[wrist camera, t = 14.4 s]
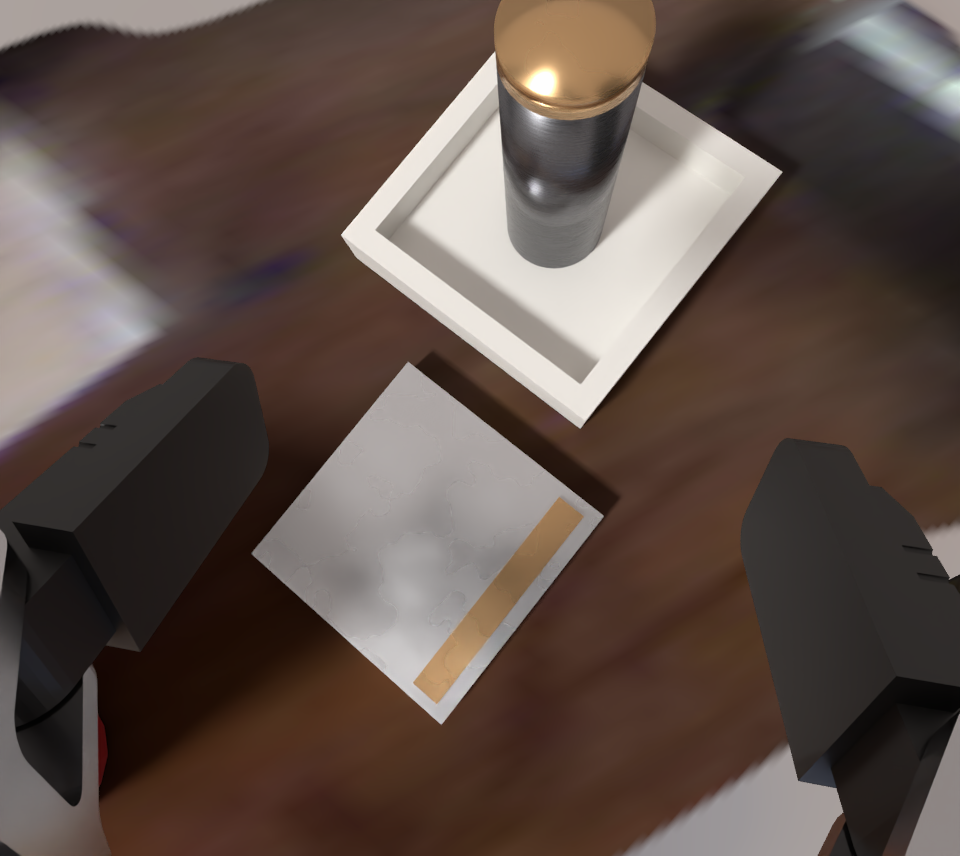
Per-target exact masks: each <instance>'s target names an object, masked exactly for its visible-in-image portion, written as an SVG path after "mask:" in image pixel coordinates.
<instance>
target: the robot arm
mask: <svg viewBox="0 0 960 856" xmlns="http://www.w3.org/2000/svg"><path fill="white" fill-rule="evenodd" d="M100 424H101V426H100V428H94V429H93V430H92V431H91V432H90V433H89V434H87V435H86V436H85V437H84V438H83V439H82V440H81V441H79V446H78V447H72V448H71V449H70V450H69V451H68V452H67V453H66V454H64V455H63V456H62V457H61V458H60V459H59V460H58V461H56V462H55V463H54V464H53V465H52V466H51V467H50V468H48V469H47V470H46V471H45V472H44V473H43V474H41V475H40V476H39V477H38V478H37V479H36V480H35V481H33V482H32V483H31V484H30V485H29V486H28V487H27V488H25V489H24V490H23V491H22V492H21V493H20V494H18V495H17V496H16V497H15V498H14V499H13V500H12V501H10V502H9V503H8V504H7V505H6V506H5V507H4V508H2V509H1V510H0V856H112V855H111V851H110V848H109V845H108V843H107V840H106V838H105V835H104V832H103V829H102V825H101V820H100V813H99V786H98V710H97V675H96V671H95V668H94V666H93V665H92V663H93V661H94V660H95V659H96V657H97V656H98V655H99V653H100V652H101V651H102V649H103V648H104V647H105V645H107V646H112V647H117V648H123V649H128V650H133V651H138V652H141V651H142V649H143V648H144V646H145V645H146V643H147V642H148V641H149V639H150V638H151V636H152V635H153V633H154V632H155V630H156V629H157V628H158V626H159V625H160V623H161V622H162V620H163V619H164V617H165V616H166V615H167V613H168V612H169V610H170V609H171V607H172V606H173V604H174V603H175V602H176V600H177V599H178V597H179V596H180V594H181V593H182V591H183V590H184V589H185V587H186V586H187V584H188V583H189V581H190V580H191V578H192V577H193V576H194V574H195V573H196V571H197V570H198V568H199V567H200V565H201V564H202V563H203V561H204V560H205V558H206V557H207V555H208V554H209V552H210V551H211V550H212V548H213V547H214V545H215V544H216V542H217V541H218V539H219V538H220V537H221V535H222V534H223V532H224V531H225V529H226V528H227V526H228V525H229V524H230V522H231V521H232V519H233V518H234V516H235V515H236V513H237V512H238V511H239V509H240V508H241V506H242V505H243V503H244V502H245V500H246V499H247V498H248V496H249V495H250V493H251V492H252V490H253V489H254V487H255V486H256V485H257V483H258V482H259V480H260V479H261V477H262V475H263V473H264V471H265V468H266V465H267V461H268V455H269V441H268V436H267V432H266V427H265V423H264V418H263V414H262V410H261V405H260V401H259V396H258V392H257V388H256V383H255V379H254V375H253V373H252V371H251V369H250V368H249V367H248V366H247V365H246V364H243V363H236V362H229V361H221V360H214V359H206V358H199V357H198V358H193V359H191V360H190V361H188V362H187V363H186V364H185V365H184V366H183V367H182V368H181V369H179V370H178V371H177V372H176V373H175V374H174V375H173V376H172V377H171V378H169V379H168V380H167V381H166V382H165V383H164V384H163V385H162V384H159V385H157V386H155V387H153V388H151V389H149V390H147V391H145V392H143V393H141V394H139V395H137V396H135V397H133V398H131V399H129V400H127V401H125V402H124V403H123V404H122V405H121V406H120V407H118V408H117V409H116V410H115V411H114V412H113V413H112V414H110V415H109V416H108V417H107V418H106V419H105V420H104V421H102V422H101V423H100ZM932 551H933V549H932V547H931V546H930V544H929V542H928V540H927V539H926V537H925V535H924V534H923V532H922V530H921V529H920V527H919V525H918V523H917V522H916V520H915V518H914V517H913V516H912V515H911V514H910V513H909V512H908V511H907V510H906V509H904V508H903V507H902V506H901V505H900V504H899V503H898V502H897V501H896V500H895V499H894V498H892V497H891V496H890V495H889V494H888V493H887V492H886V491H885V490H884V489H883V488H882V487H876V486H869V484H868V482H867V480H866V478H865V477H864V475H863V473H862V471H861V469H860V467H859V466H858V464H857V462H856V460H855V458H854V456H853V454H852V453H851V451H850V450H849V449H848V448H847V447H845V446H842V445H835V444H827V443H820V442H813V441H805V440H798V439H790V438H786V439H784V440H782V441H781V442H780V443H779V445H778V446H777V448H776V449H775V451H774V453H773V455H772V458H771V460H770V462H769V464H768V466H767V468H766V470H765V472H764V475H763V477H762V479H761V481H760V483H759V485H758V487H757V489H756V491H755V494H754V496H753V498H752V500H751V502H750V504H749V506H748V508H747V511H746V513H745V516H744V519H743V523H742V528H741V553H742V558H743V562H744V566H745V570H746V574H747V578H748V582H749V586H750V590H751V594H752V598H753V602H754V606H755V610H756V614H757V618H758V622H759V626H760V630H761V634H762V638H763V642H764V646H765V650H766V654H767V658H768V662H769V666H770V670H771V674H772V678H773V682H774V686H775V690H776V694H777V698H778V702H779V706H780V710H781V714H782V718H783V722H784V726H785V730H786V734H787V738H788V742H789V746H790V750H791V754H792V757H793V761H794V765H795V769H796V774H797V778H798V781H802V782H807V783H812V784H817V785H823V786H828V787H833V788H837V792H838V795H839V798H840V802H841V805H842V808H843V812H844V813H842V814H841V815H840V816H839V817H838V818H837V819H836V821H835V822H834V824H833V825H832V828H831V830H830V832H829V834H828V836H827V838H826V840H825V842H824V844H823V846H822V848H821V850H820V852H819V854H818V856H960V594H959V593H958V591H957V589H956V588H955V586H954V585H951V584H949V582H948V580H949V578H950V577H949V576H948V574H947V572H946V571H945V569H944V567H943V566H942V564H941V563H940V561H939V559H938V557H937V556H933V555H932Z"/></svg>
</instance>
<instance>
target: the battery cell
mask: <svg viewBox="0 0 960 856" xmlns="http://www.w3.org/2000/svg"><path fill="white" fill-rule="evenodd" d="M655 28H656V19H655V11H654V7H653V3H652V1H651V0H501V2H500V5H499V7H498V10H497V13H496V17H495V24H494V39H495V54H496V69H497V83H498V98H499V113H500V127H501V142H502V156H503V171H504V186H505V200H506V215H507V230H508V235H509V238H510V241H511V243H512V245H513V247H514V248H515V250H516V251H517V252H518V253H519V254H520V255H521V256H522V257H523V258H524V259H526V260H527V261H529V262H530V263H532V264H535V265H537V266H540V267H545V268H563V267H568V266H571V265H574V264H576V263H578V262H580V261H581V260H583V259H584V258H586V257H587V256H588V255H589V254H590V253H591V252H592V251H593V250H594V248H595V247H596V245H597V243H598V242H599V239H600V237H601V234H602V230H603V226H604V223H605V219H606V215H607V212H608V208H609V204H610V200H611V197H612V193H613V189H614V185H615V182H616V178H617V174H618V171H619V167H620V163H621V159H622V156H623V152H624V148H625V145H626V141H627V137H628V133H629V130H630V126H631V122H632V119H633V115H634V111H635V107H636V104H637V100H638V96H639V93H640V89H641V85H642V81H643V78H644V74H645V70H646V66H647V63H648V59H649V55H650V52H651V48H652V44H653V40H654V36H655Z"/></svg>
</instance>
